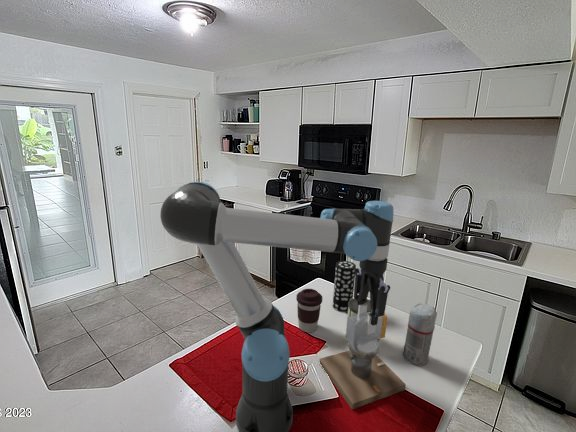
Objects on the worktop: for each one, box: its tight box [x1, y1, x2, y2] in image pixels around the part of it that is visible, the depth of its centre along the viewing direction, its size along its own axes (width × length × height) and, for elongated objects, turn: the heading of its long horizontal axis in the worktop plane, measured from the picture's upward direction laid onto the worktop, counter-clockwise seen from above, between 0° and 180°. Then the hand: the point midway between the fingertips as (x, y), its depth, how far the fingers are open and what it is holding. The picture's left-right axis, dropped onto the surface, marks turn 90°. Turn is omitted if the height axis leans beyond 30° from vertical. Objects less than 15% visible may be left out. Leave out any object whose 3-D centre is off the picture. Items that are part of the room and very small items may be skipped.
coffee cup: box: [295, 288, 323, 333], centre depth 122 cm, size 10×10×15 cm
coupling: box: [345, 312, 389, 359], centre depth 96 cm, size 12×9×11 cm
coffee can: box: [344, 298, 370, 343], centre depth 117 cm, size 10×10×14 cm
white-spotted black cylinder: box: [332, 260, 357, 313], centre depth 137 cm, size 8×8×20 cm
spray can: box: [402, 302, 438, 367], centre depth 106 cm, size 8×8×20 cm
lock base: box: [318, 349, 407, 410], centre depth 99 cm, size 19×19×10 cm
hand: (365, 327), depth 95 cm, fingers closed on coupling, 4 cm apart
